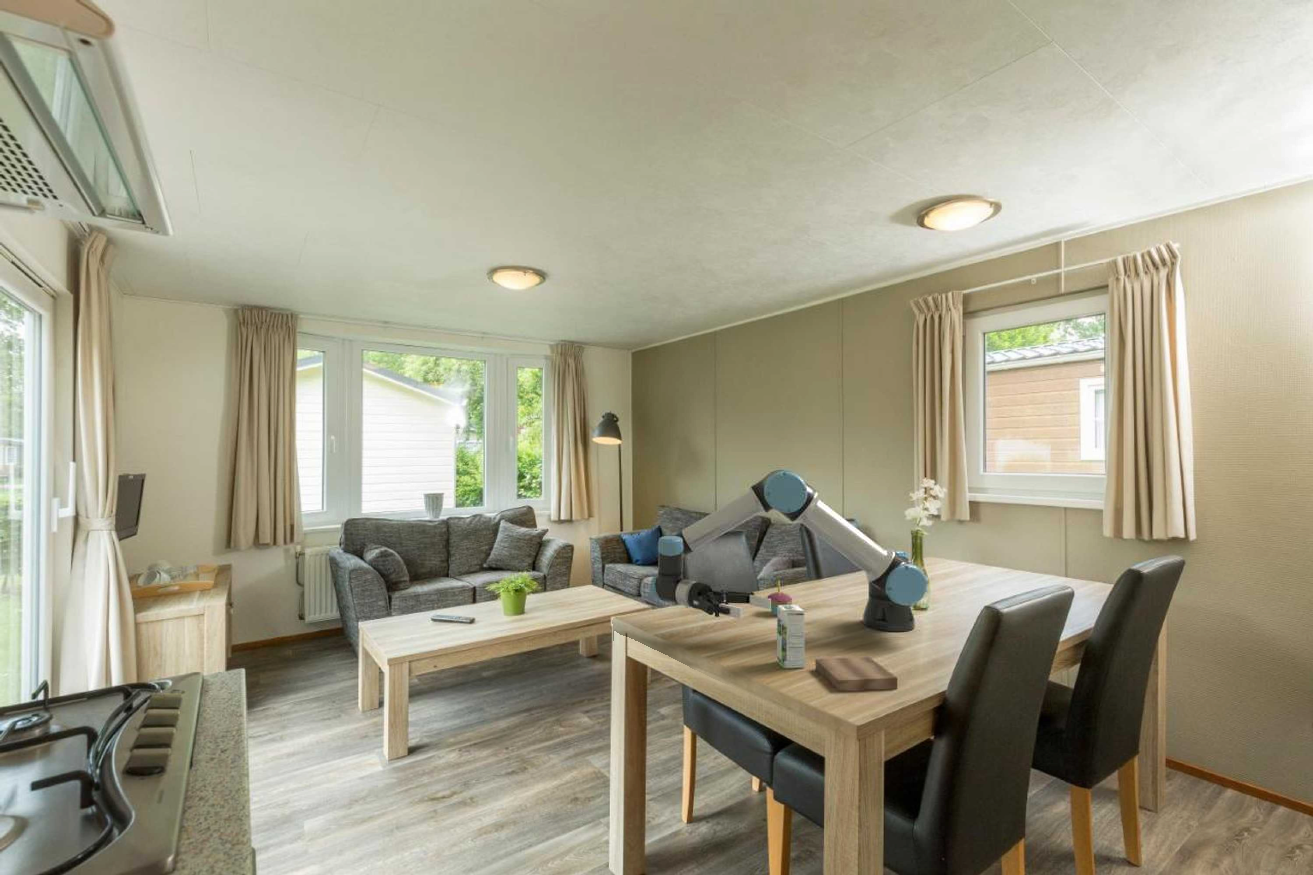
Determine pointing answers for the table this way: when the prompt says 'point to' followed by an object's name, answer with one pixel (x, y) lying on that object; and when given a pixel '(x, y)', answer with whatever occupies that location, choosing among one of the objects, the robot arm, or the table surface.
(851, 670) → the walnut board
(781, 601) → the cupcake
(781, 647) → the syrup box
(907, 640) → the table surface
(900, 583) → the robot arm
